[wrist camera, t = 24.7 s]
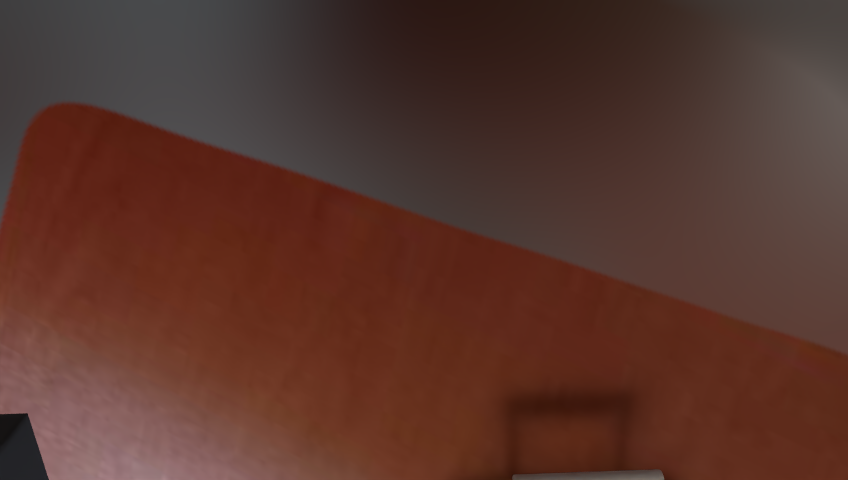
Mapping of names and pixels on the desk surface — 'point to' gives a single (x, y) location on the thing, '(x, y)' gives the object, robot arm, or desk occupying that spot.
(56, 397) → the desk surface
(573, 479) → the drawer
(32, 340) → the desk surface
